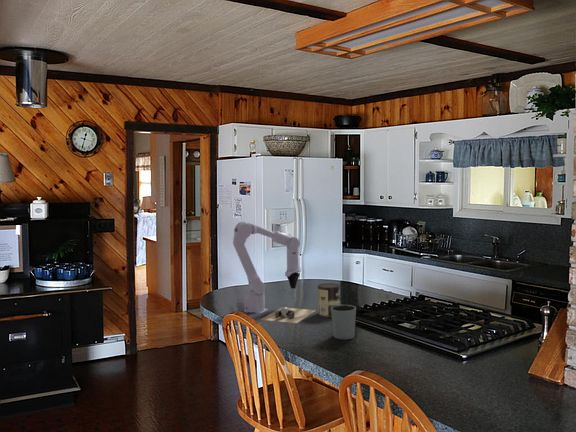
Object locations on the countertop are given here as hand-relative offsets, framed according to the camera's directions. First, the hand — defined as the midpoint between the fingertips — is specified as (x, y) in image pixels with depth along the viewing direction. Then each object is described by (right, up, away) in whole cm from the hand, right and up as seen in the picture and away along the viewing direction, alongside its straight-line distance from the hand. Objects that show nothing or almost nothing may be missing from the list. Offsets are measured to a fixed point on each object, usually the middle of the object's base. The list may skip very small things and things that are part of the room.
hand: (293, 288), depth 282 cm
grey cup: (+20, -14, -48) cm, 54 cm away
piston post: (-4, -11, -19) cm, 22 cm away
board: (-2, -11, -14) cm, 18 cm away
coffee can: (+17, -11, -14) cm, 24 cm away
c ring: (-3, -11, -18) cm, 21 cm away
